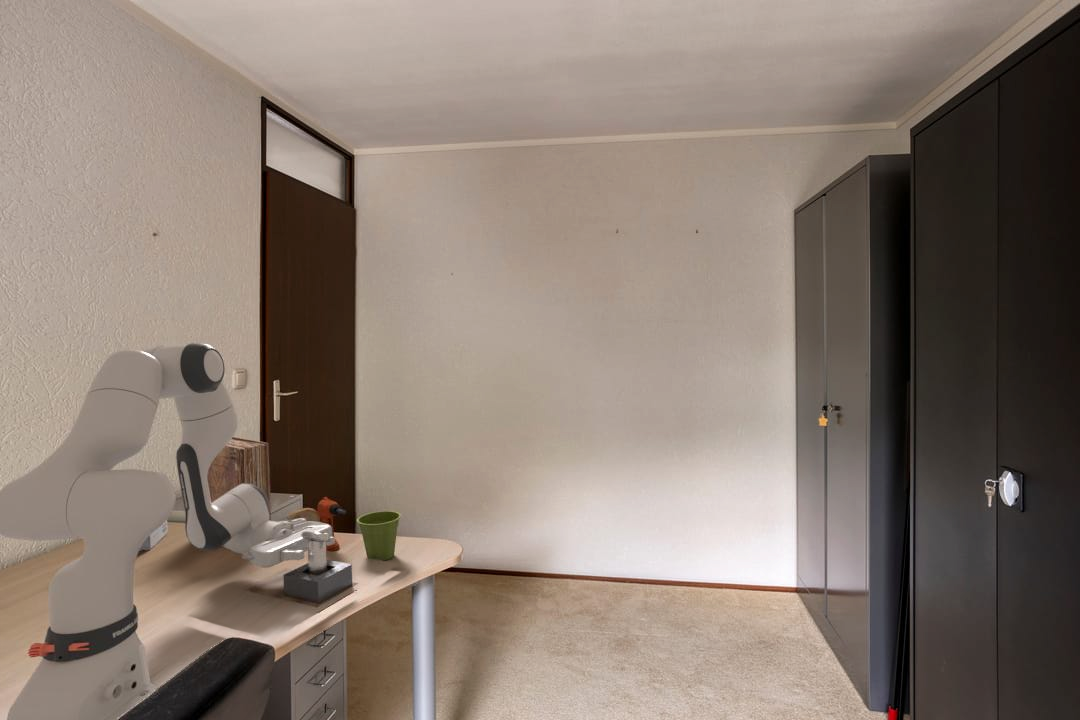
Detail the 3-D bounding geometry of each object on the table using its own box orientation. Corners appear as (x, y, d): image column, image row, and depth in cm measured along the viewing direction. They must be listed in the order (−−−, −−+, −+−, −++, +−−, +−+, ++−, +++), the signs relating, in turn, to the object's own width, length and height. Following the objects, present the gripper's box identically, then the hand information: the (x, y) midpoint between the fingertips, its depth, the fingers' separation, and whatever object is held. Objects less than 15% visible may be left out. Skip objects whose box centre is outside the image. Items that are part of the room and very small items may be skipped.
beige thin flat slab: (358, 589, 137) (358, 583, 137) (317, 613, 125) (317, 607, 125) (285, 574, 146) (285, 568, 146) (241, 595, 134) (241, 589, 134)
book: (272, 541, 171) (268, 443, 170) (241, 551, 163) (237, 448, 162) (231, 526, 186) (227, 435, 185) (201, 534, 178) (197, 440, 177)
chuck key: (336, 589, 133) (334, 531, 133) (323, 596, 130) (321, 537, 129) (311, 584, 137) (308, 527, 136) (298, 590, 133) (295, 533, 132)
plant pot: (381, 546, 165) (380, 508, 164) (411, 553, 159) (410, 514, 158) (348, 560, 155) (347, 520, 154) (379, 569, 149) (378, 526, 148)
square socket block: (352, 584, 136) (351, 564, 136) (318, 604, 126) (317, 582, 126) (319, 577, 140) (318, 558, 140) (284, 596, 130) (283, 574, 130)
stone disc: (317, 535, 175) (316, 503, 175) (322, 538, 173) (321, 505, 172) (282, 544, 168) (281, 511, 168) (287, 547, 165) (286, 513, 165)
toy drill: (339, 559, 152) (335, 503, 153) (316, 549, 166) (312, 497, 167) (357, 554, 155) (352, 499, 156) (332, 544, 169) (328, 494, 170)
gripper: (236, 542, 129) (280, 550, 123) (306, 515, 147) (347, 522, 142) (237, 569, 129) (281, 579, 123) (307, 539, 148) (348, 546, 142)
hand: (317, 548), depth 133 cm, fingers open, 8 cm apart
